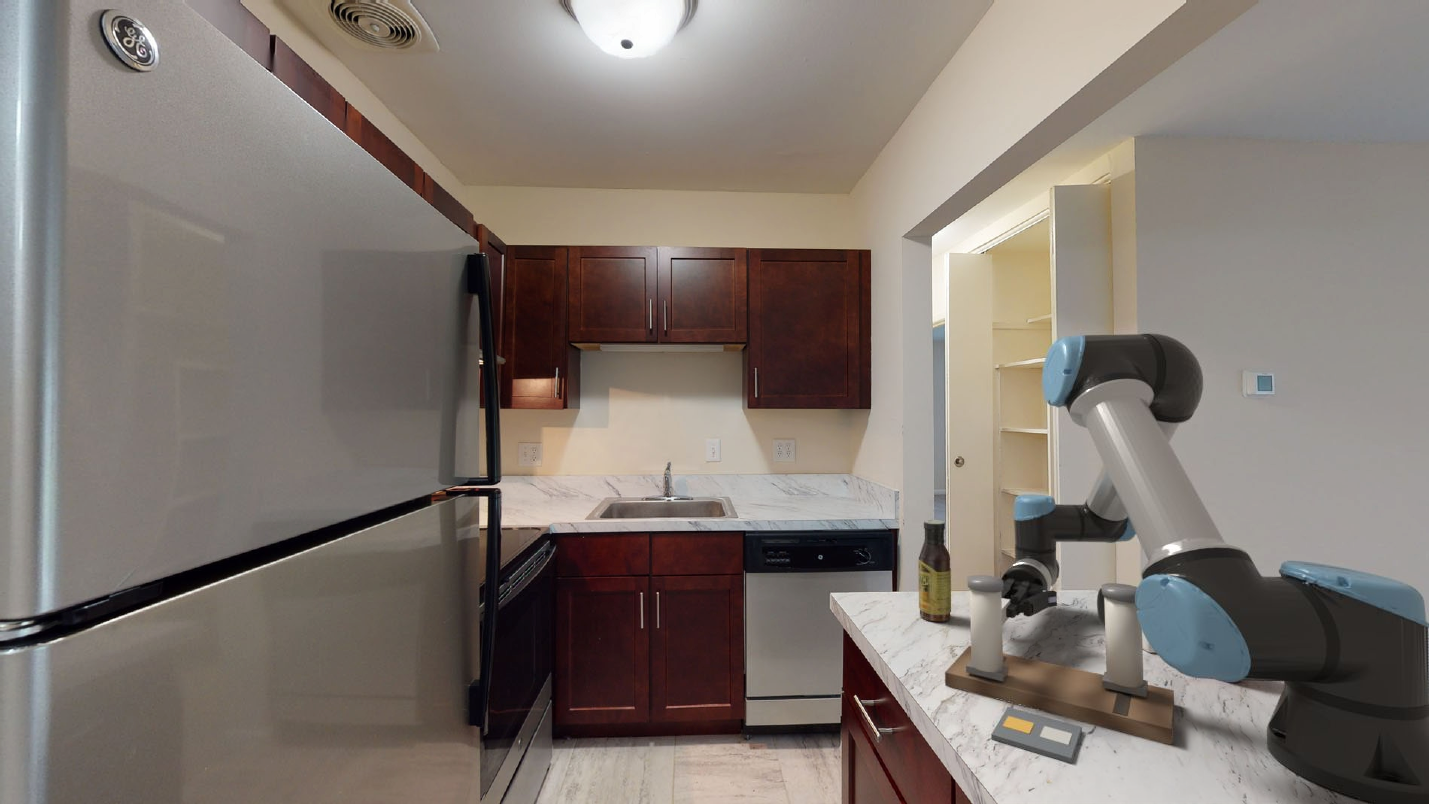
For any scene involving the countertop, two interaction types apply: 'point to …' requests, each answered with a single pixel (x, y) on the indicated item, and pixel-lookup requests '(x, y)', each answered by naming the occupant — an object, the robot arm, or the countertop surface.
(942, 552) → the sauce bottle
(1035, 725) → the card
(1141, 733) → the brown wooden board
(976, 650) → the far slider
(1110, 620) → the near slider
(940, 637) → the countertop surface
